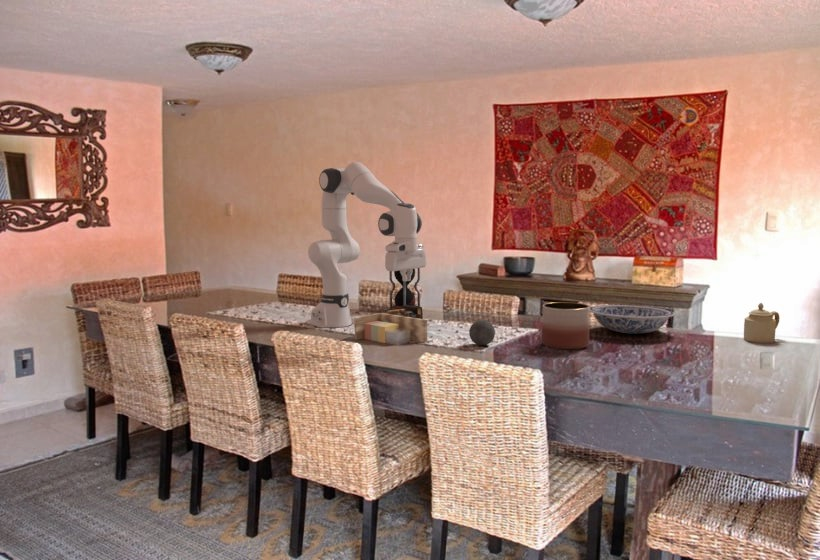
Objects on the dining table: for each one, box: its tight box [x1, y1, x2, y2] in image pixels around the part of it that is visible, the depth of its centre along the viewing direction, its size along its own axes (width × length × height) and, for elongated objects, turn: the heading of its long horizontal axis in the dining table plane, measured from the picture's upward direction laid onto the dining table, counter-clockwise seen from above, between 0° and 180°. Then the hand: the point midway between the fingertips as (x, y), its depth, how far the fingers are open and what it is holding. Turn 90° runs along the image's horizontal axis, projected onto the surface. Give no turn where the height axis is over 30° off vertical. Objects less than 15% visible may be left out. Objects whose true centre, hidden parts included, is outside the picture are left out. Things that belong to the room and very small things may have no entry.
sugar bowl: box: [743, 302, 780, 344], centre depth 263 cm, size 15×11×15 cm
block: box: [385, 328, 411, 346], centre depth 264 cm, size 6×8×5 cm
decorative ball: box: [468, 319, 496, 346], centre depth 257 cm, size 10×10×10 cm
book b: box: [370, 322, 389, 342], centre depth 270 cm, size 4×8×6 cm, turn 138°
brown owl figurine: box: [381, 305, 423, 319], centre depth 287 cm, size 15×11×25 cm
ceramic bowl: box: [589, 304, 675, 335], centre depth 278 cm, size 34×34×10 cm
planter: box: [541, 301, 590, 351], centre depth 255 cm, size 18×18×16 cm
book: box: [377, 323, 399, 344], centre depth 267 cm, size 4×8×6 cm, turn 138°
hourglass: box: [388, 268, 421, 310], centre depth 337 cm, size 16×16×25 cm
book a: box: [363, 321, 383, 341], centre depth 272 cm, size 4×8×6 cm, turn 138°
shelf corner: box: [354, 312, 428, 343], centre depth 266 cm, size 26×15×9 cm, turn 48°
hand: (406, 280), depth 258 cm, fingers closed
